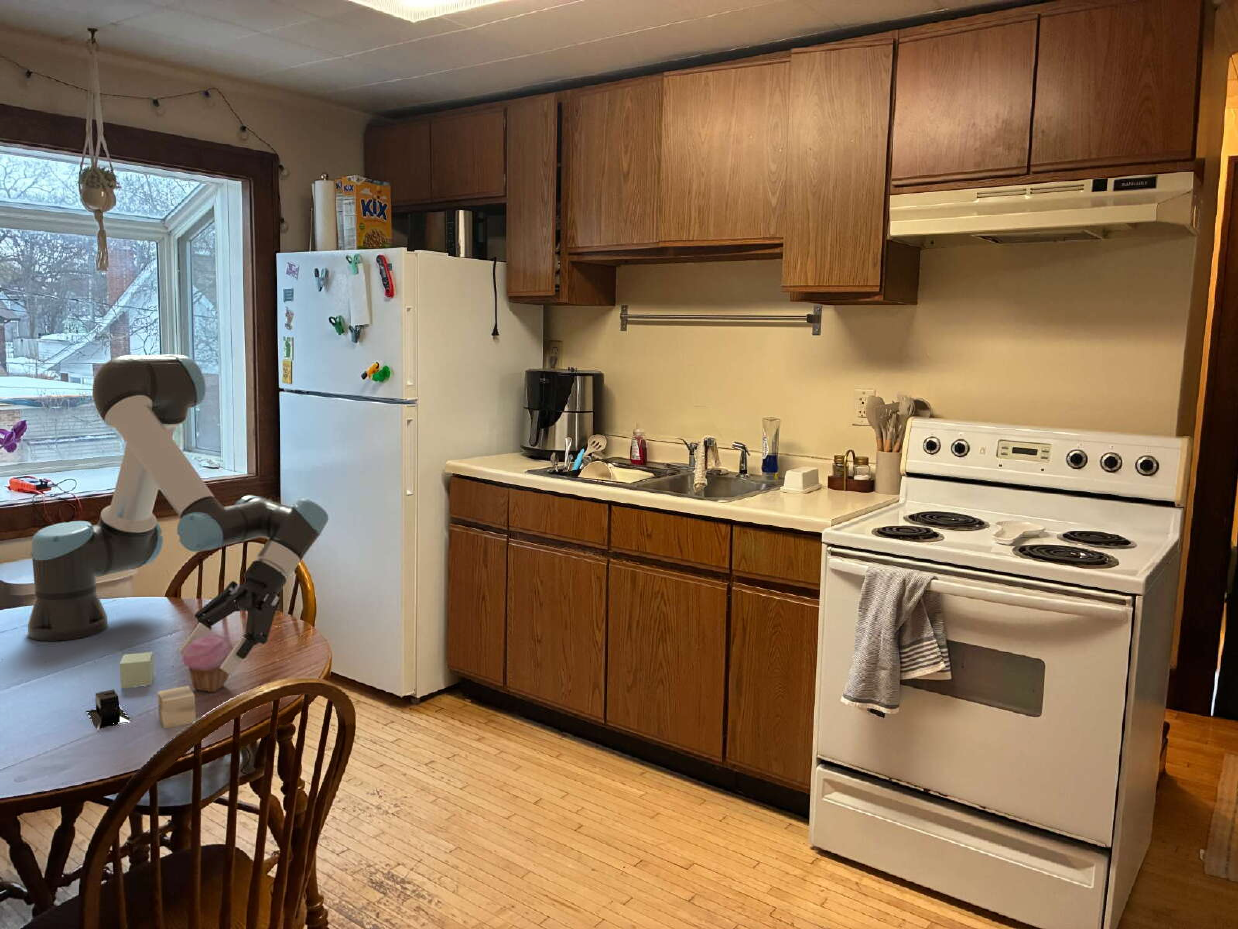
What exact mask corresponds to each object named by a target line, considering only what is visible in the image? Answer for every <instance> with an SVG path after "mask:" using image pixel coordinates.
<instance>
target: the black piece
mask: <svg viewBox="0 0 1238 929" xmlns="http://www.w3.org/2000/svg"><path fill="white" fill-rule="evenodd" d="M94 699H95V700H94V701H95V709H96V710H93V709H90V710H91V711H89V710H85V711H86V712H89V713H88V714H86V716H88V715H90V716H91V717H90V718H89V720H90V719H92V721H91V723H92V722H93V723H92V725H93V726H94V728H95V729H96V730H100V729H105V728H108V727H107V726H110V727H113V726H118V725H117V724H118V722H121V723H122V722H128V723H131V720H132V719H131V718H130V716H129V717H127V716H125V715H128V713H127V714H125V713H123V712H124V711H125V710H124V711H123V710H121V709H120V707H119V704H120V700H119V695H118V693H116V691H115V690H114V689H109V690H106V691H105V690H104V691H100V692H96V693H95V698H94ZM86 712H85V713H86ZM129 719H131V720H129ZM113 723H114V724H113Z"/></svg>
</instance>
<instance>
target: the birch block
mask: <svg viewBox="0 0 1238 929" xmlns="http://www.w3.org/2000/svg"><path fill="white" fill-rule="evenodd" d="M195 698H196V697H195V693H194V692H193V690H192V689H191V687H190V685H185V686H180V687H176V688H175V687H174V688H170V689H169V688H168V689H165V690H164V689H163V690H159V691H157V707H158V719H159V721H160V723H161V725H162V727H163V729H165V730H166V729H169V728H175V727H180V726H183V724H185V725H189V724H193V723H192V722H194V721H195V720H196V701H195V700H196V699H195Z"/></svg>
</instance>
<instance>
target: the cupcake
mask: <svg viewBox="0 0 1238 929" xmlns="http://www.w3.org/2000/svg"><path fill="white" fill-rule="evenodd" d="M233 648H234V647H233V645H232V643H231V642H230V640H228V638H226V637H223V636H220V635H211V636H206V637H203V638H199V639H196V640H194V641H193V642H192V643H191V644H190V645H189V646H188V647H187V648H186V650H185V651H184V654H183V655H182V662H183V663H184V665H185V666H186V667H187V668H188V671H189V674H190V680H191V683H192V684H191V685H192V688H193V689H195V690H196V689H197V691H203V692H207V691H208V692H207V693H214V692H213V691H215V692H216V691H218V690H220V689H221V688H222V687H223V686H224V685H225V684H226V682H227V680H228V679H229V676H230V675H229V674H227V673H226V672H225V671H223V670H222V669H220V666H221V665H222V664H223V662H224V661H225V659H226V658H227V656H228V655H229V654H230V652H231V651H232V649H233Z"/></svg>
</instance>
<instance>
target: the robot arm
mask: <svg viewBox="0 0 1238 929" xmlns="http://www.w3.org/2000/svg"><path fill="white" fill-rule="evenodd" d="M206 388H207V387H206V382H205V377H204V375H203V372H202V370H201V368H200V366H199V365H198V363H197V362H195V361H194V360H193V359H192V358H191V357H188V356H187V355H183V354H171V353H166V354H150V355H149V354H146V355H145V354H143V355H142V354H140V355H132V354H131V355H129V354H127V355H121V356H116V357H114V358H112V359H110V360H108V361H106V362H105V363H104V364H103V365H102V366H101V367H100V368H99V370H98V371H97V373H96V374H95V377H94V380H93V385H92V398H93V403H94V406H95V408H96V411H97V412H98V414H99V416H100V418H101V419H102V420H103V421H104V424H106V426H107V427H108V428H111V429H115V430H116V431H117V432H118V433H119V435H120V436H121V437H122V439H123V441H125V443H126V444H125V448H124V453H123V457H122V460H121V464H120V467H119V471H118V472H119V473H118V476H117V479H116V484H115V488H114V492H113V495H112V499H111V503H110V505H107V506H106V507H104V508H103V509H102V510H101V512H100V516H99V520H98V523H97V524H93V525H92V523H91V522H90V521H85V520H74V521H69V522H58V523H55V524H52V525H48V526H45V527H44V528H41V529H39V530H38V531H37V532H35V534H34V535H33V536H32V539H31V552H30V556H31V558H32V570H33V571H32V572H33V583H34V584H33V586H34V598H35V599H34V604H33V607H32V609H31V613H30V617H29V621H28V623H27V634H28V637H29V638H30V639H32V640H36V641H44V642H54V641H55V642H58V640H61V641H68V640H75V639H81V637H82V638H86V637H89V636H90V637H91V636H93V635H96V634H97V633H101V632H102V631H104V630H106V628H108V626H109V624H108V616H107V612H106V611H105V608H104V605H103V604H102V601H101V600H100V597H99V595H98V593H97V578H99V577H103V576H108V575H112V574H116V573H120V572H126V571H130V570H136V569H138V568H142V567H143V566H146V565H148V564H151V563H153V562H154V560H155V559H157V558H158V556H159V555H160V553H161V551H162V548H163V543H164V540H163V539H164V537H163V535H161V534H162V533H163V530H162V527H161V525H160V524H159V522H158V521H157V520H158V519H157V518H156V515H154V513H153V510H154V506H155V502H156V500H157V496H158V492H159V490H160V492H161V493H162V495H163V496H164V498H166V500H167V501H168V503H169V504H170V506H171V507H172V508H173V510H174V511H175V513H176V514H177V515H178V517H179V518H180V520H179V521H178V523H177V529H176V530H177V531H176V533H177V535H178V536H179V543H180V544H181V545H182V546H183V548H185V549H186V550H188V551H191V552H192V553H193V552H194V553H196V552H203V551H212V550H216V549H217V548H221V547H224V546H229V545H232V544H236V543H241V542H245V541H250V540H253V539H258V538H265V539H268V540H267V542H265V544H264V546H263V547H262V548H261V550H260V551H259V552H258V553H257V555H256V558H255V559H256V560H254V561H252V563H251V564H250V565H249V566H248V568H247V569H246V570H245V571H244V573H243V577H244V582H243V583H242V584H241V585H239V584H238V583H237V582H236V581H235V580H232V581H230V582H229V584H227V586H226V587H225V589H223V590H222V591H221V592H220V593H218V595H216V596H214V598H213V599H211V600H210V601H209V602H208V603H206V604H205V605H203V607H202V608H200V609H199V610H198V611H197V612H196V613H195V614H194V618H195V619H197V624H196V625H195V627H193V630H192V631H191V632H190V634H189V635H188V637H187V638H186V640H185V641H184V642H183V643H182V645H181V646H180V648H179V649H178V650H177V652H178V653H179V654H181V655H182V656H183V654H184V651H185V650H186V648H187V647H188V646H189V645H190V644H191V643H192V642H193V641H194V640H196V639H199V638H203V637H208V635H209V633H210V632H211V630H212V626H214V625H215V624H217V623H218V622H221V621H222V620H224V619H225V618H227V617H229V616H230V615H232V614H233V613H235V612H240V611H242V612H247V613H246V614H247V616H246V625H245V626H246V627H245V633H243V635H242V636H241V637H240V638H239V639H238V641H237V642H236V644H235V645H234V647H233V649H232V651H231V652H230V654H229V655H228V656H227V658H226V659H225V661H224V662H223V664H222V665H221V666H220V669H222V670H223V671H225V672H226V673H227V674H229V676H231V677H232V676H233V674H234V673H235V672H236V671H237V669H238V668H239V666H240V665H241V663H242V662H243V661H244V659H246V657H247V656H248V655H249V653H250V652H251V651H252V649H253V648H254V647H255V646H257V645H258V644H262V645H265V644H266V643H267V642H268V639H269V635H270V632H271V628H272V626H273V621H274V617H275V615H276V611H277V609H278V607H279V606H280V604H281V602H282V599H281V598H280V597H279V596H278V595H279V593H280V592H281V591H282V588H284V586H285V585H286V583H287V578H290V577H291V575H292V574H293V573H294V571H295V570H296V569H297V567H298V565H299V564H300V562H302V559H303V558H304V556H305V555H306V554H307V552H308V551H309V550H310V549H311V547H312V546H313V544H314V543H315V542H316V540H317V539H318V538H319V536H321V535H322V532H323V530H324V529H325V526H326V525H327V524H328V522H329V515H328V513H327V511H326V510H325V509H324V508H323V507H322V506H321V505H319V504H318V503H316V502H314V501H313V500H310V499H307V498H299V499H298V500H296V502H294V503H293V504H292V506H289V505H284V504H282V503H278V502H277V501H273V500H270V499H268V498H266V497H264V496H256V495H252V494H250V495H249V494H248V495H245V496H243V497H241V498H240V499H239V500H237V501H236V502H235V504H234V505H233V504H232V505H228V506H223V505H222V504H221V503H220V501H219V500H218V499H217V497H215V495H214V494H213V492H212V491H211V490H210V488H209V487H208V485H207V484H206V483H205V481H204V480H203V479H202V477H201V476H200V475H199V472H197V471H196V468H195V467H194V466H193V465H192V463H191V462H190V461H189V459H188V458H187V457H186V456H185V454H184V452H183V451H182V449H181V448H180V447H179V445H178V444H177V443H176V441H175V440H174V439H173V438H174V434H175V430H176V427H177V426H179V425H182V424H183V423H184V422H185V421H186V418H187V415H188V412H189V408H195V407H197V406H198V405H200V404H201V403H202V402H203V400H205V399H204V398H205V396H206ZM95 633H96V634H95ZM92 634H93V635H92Z"/></svg>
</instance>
